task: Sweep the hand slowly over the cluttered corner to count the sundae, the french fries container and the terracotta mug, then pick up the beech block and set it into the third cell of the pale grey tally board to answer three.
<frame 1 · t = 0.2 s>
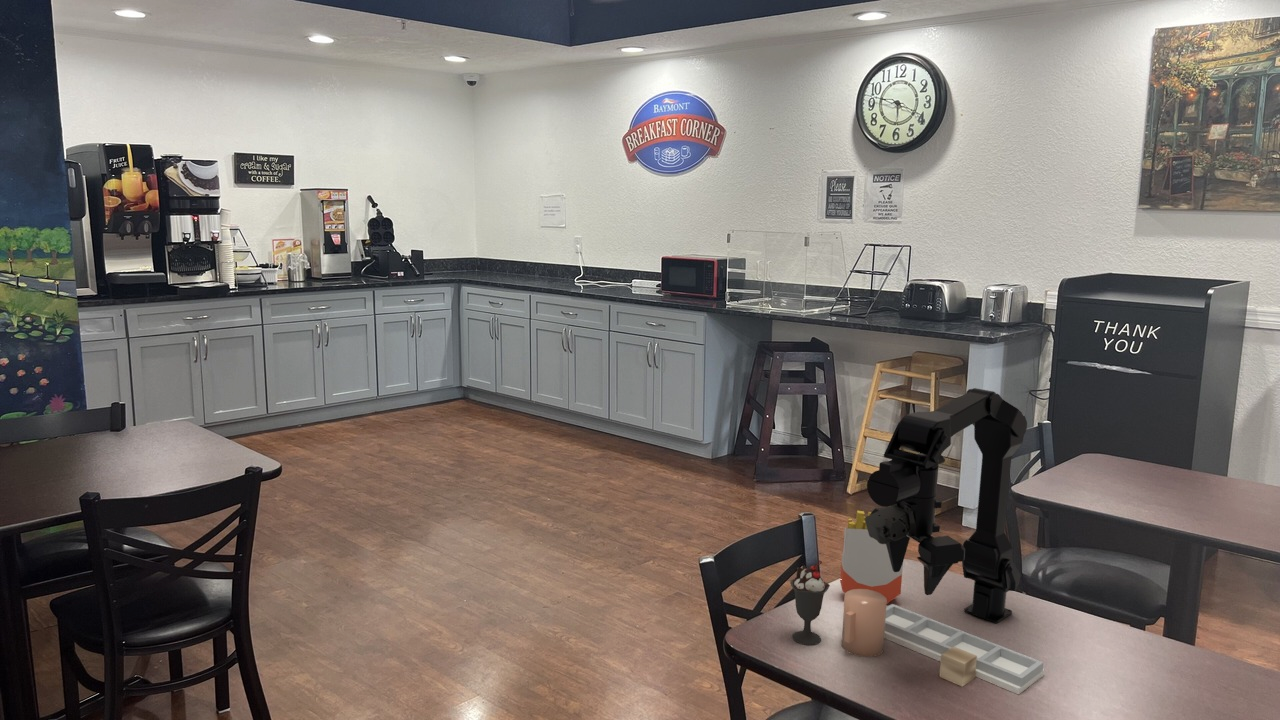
hand: (911, 582, 151), 14 cm above the table, tool pointing down, fingers open, 9 cm apart
tally board: (950, 651, 156), on the table
beech block: (957, 677, 148), on the table
french fries container: (868, 600, 176), on the table
sundae: (806, 639, 160), on the table
terracotta mug: (862, 646, 158), on the table
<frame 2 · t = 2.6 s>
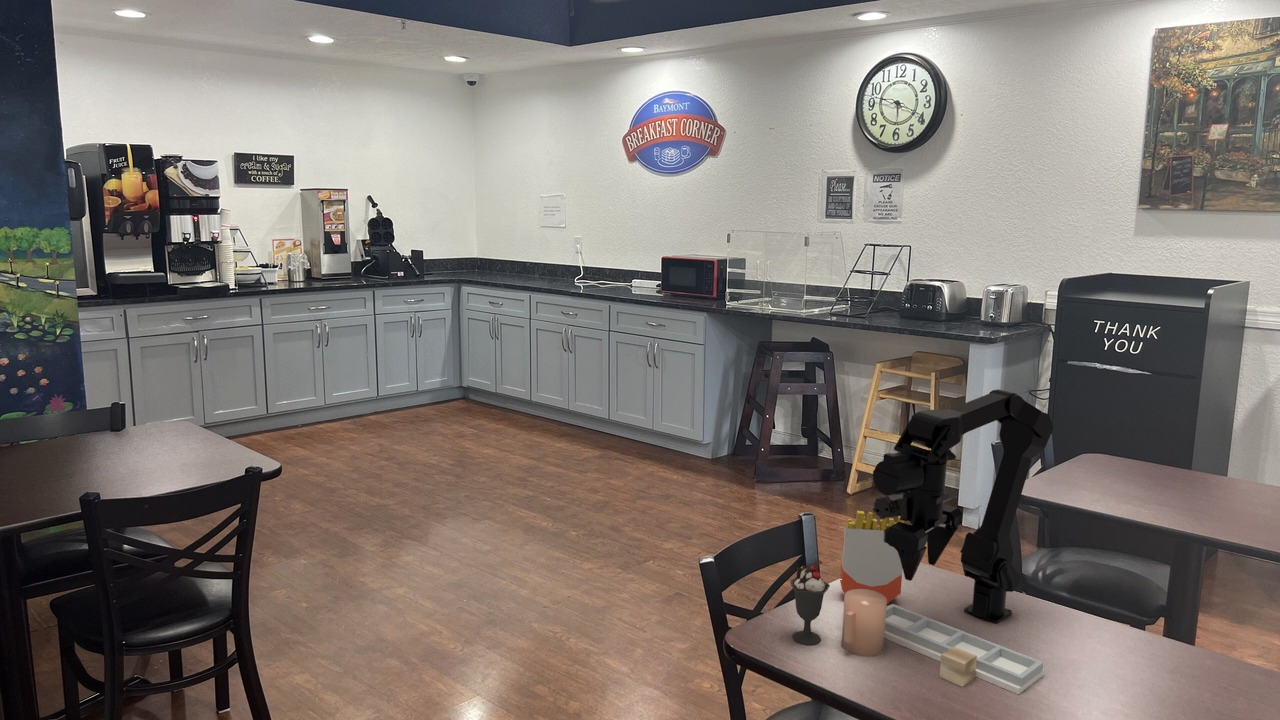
hand: (920, 572, 159), 12 cm above the table, tool pointing down, fingers open, 9 cm apart
nothing on the table moved.
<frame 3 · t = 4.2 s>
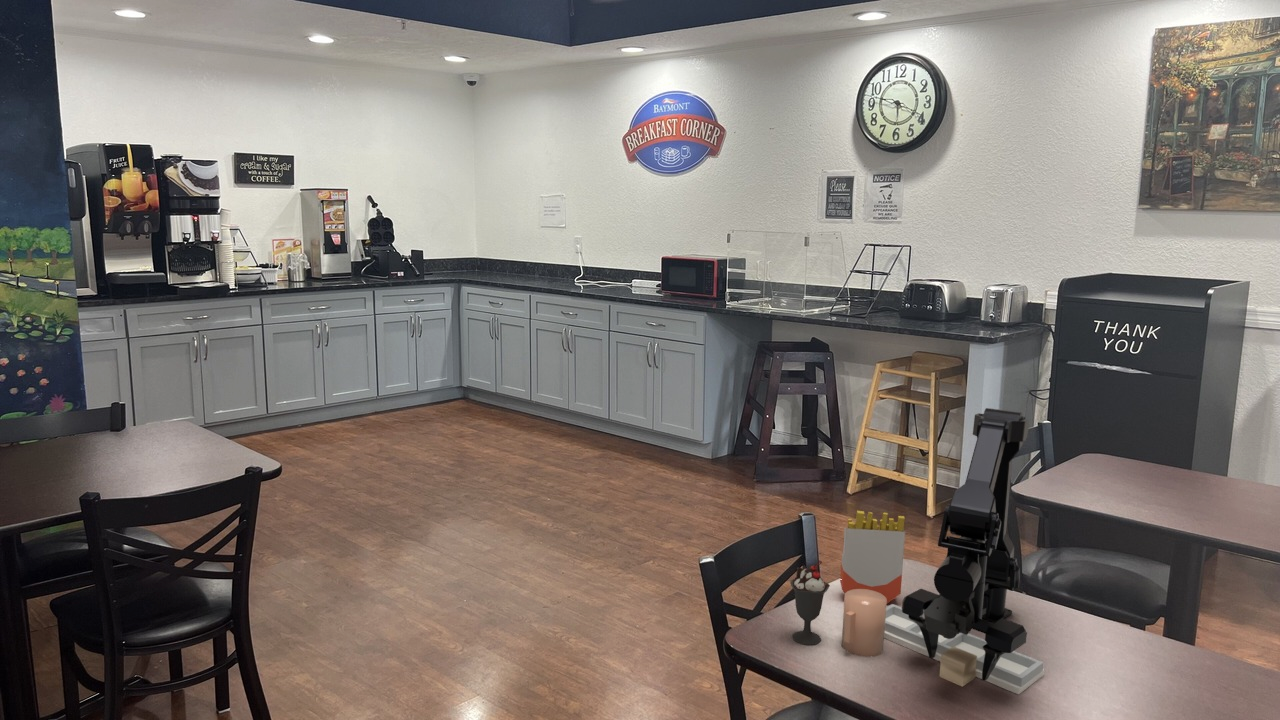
hand: (957, 668, 148), 2 cm above the table, tool pointing down, fingers open, 9 cm apart
nothing on the table moved.
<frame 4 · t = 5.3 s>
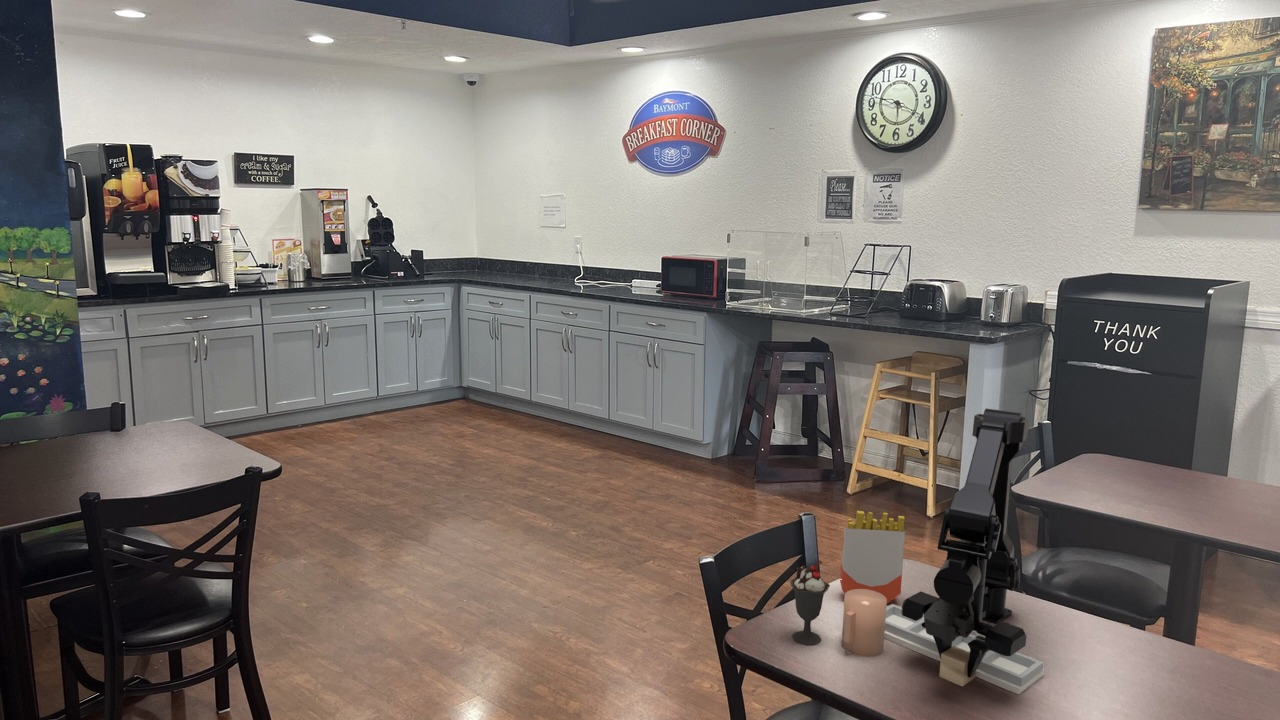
hand: (957, 671, 148), 1 cm above the table, tool pointing down, fingers closed on beech block, 4 cm apart
beech block: (957, 677, 148), on the table, touching gripper
everything else where it was.
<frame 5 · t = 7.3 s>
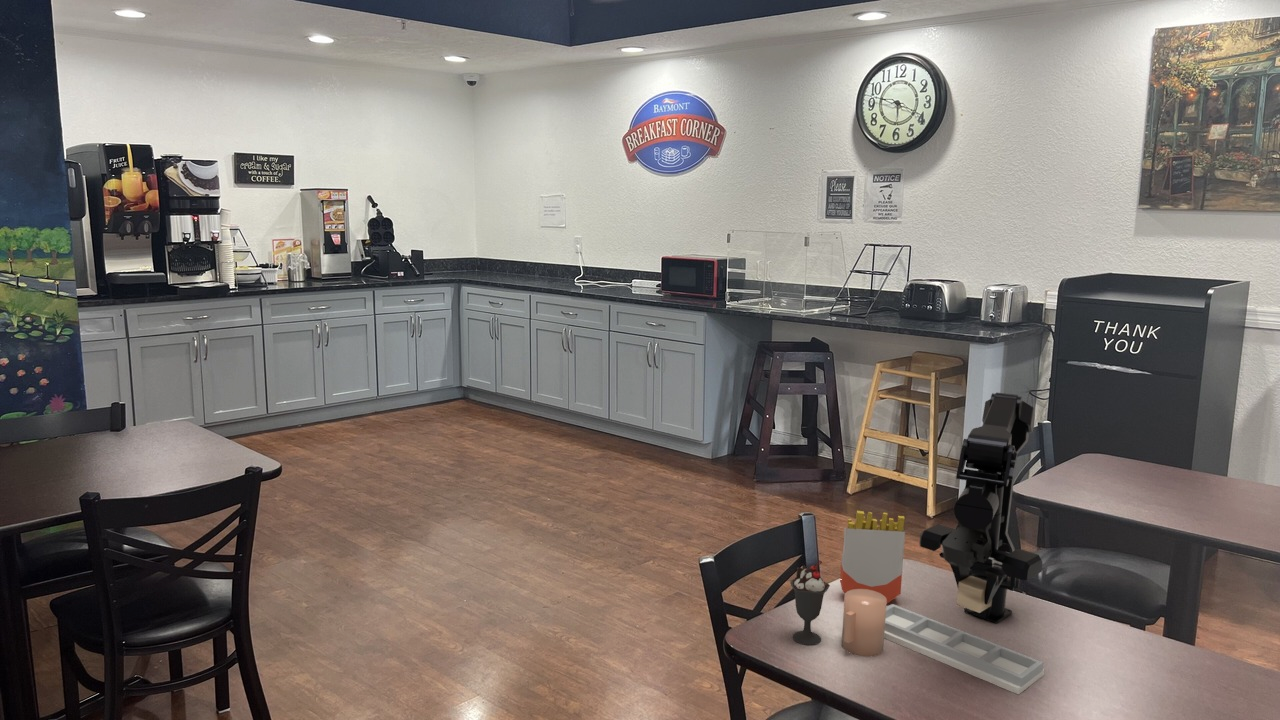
hand: (974, 599, 152), 11 cm above the table, tool pointing down, fingers closed on beech block, 4 cm apart
beech block: (974, 605, 152), point 10 cm above the table, touching gripper
everything else where it was.
when the fingers open (3 cm above the table, at t = 9.3 s): beech block drops 1 cm, resting on tally board.
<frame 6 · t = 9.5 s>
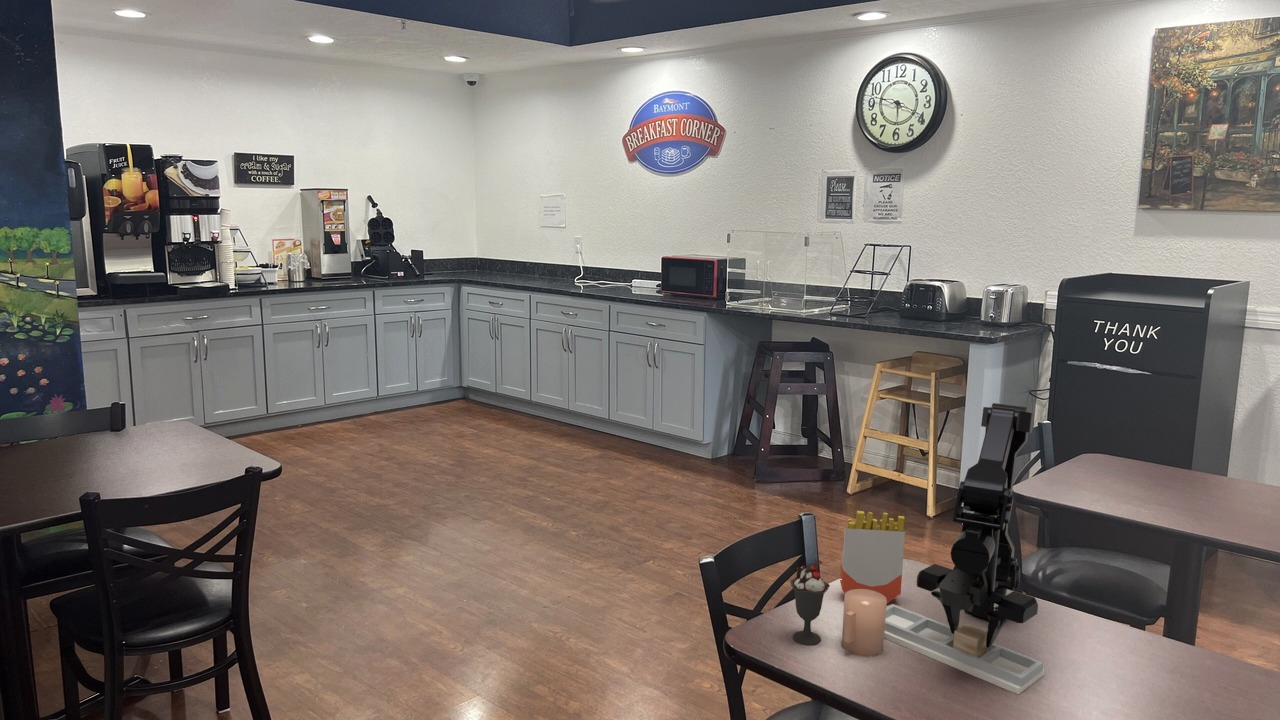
hand: (971, 639, 153), 3 cm above the table, tool pointing down, fingers open, 6 cm apart
beech block: (969, 653, 154), point 1 cm above the table, touching tally board
everything else where it was.
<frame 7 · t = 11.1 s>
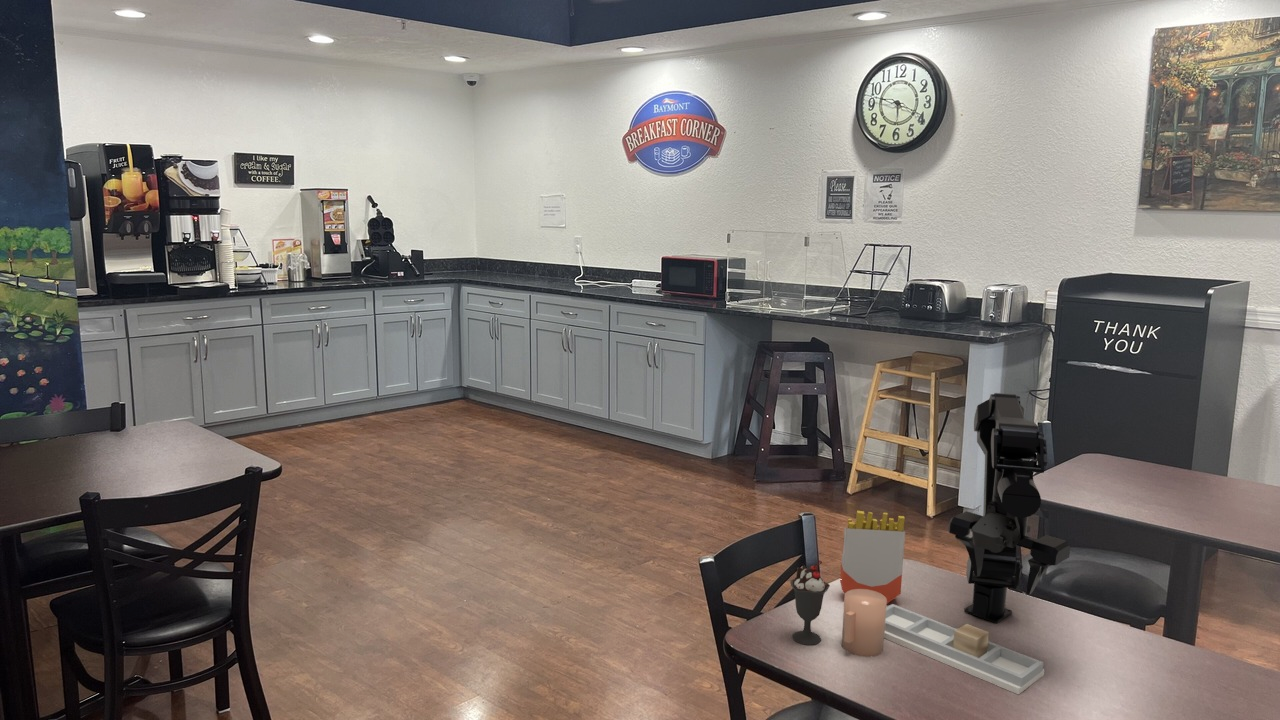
hand: (1002, 584, 155), 12 cm above the table, tool pointing down, fingers open, 9 cm apart
nothing on the table moved.
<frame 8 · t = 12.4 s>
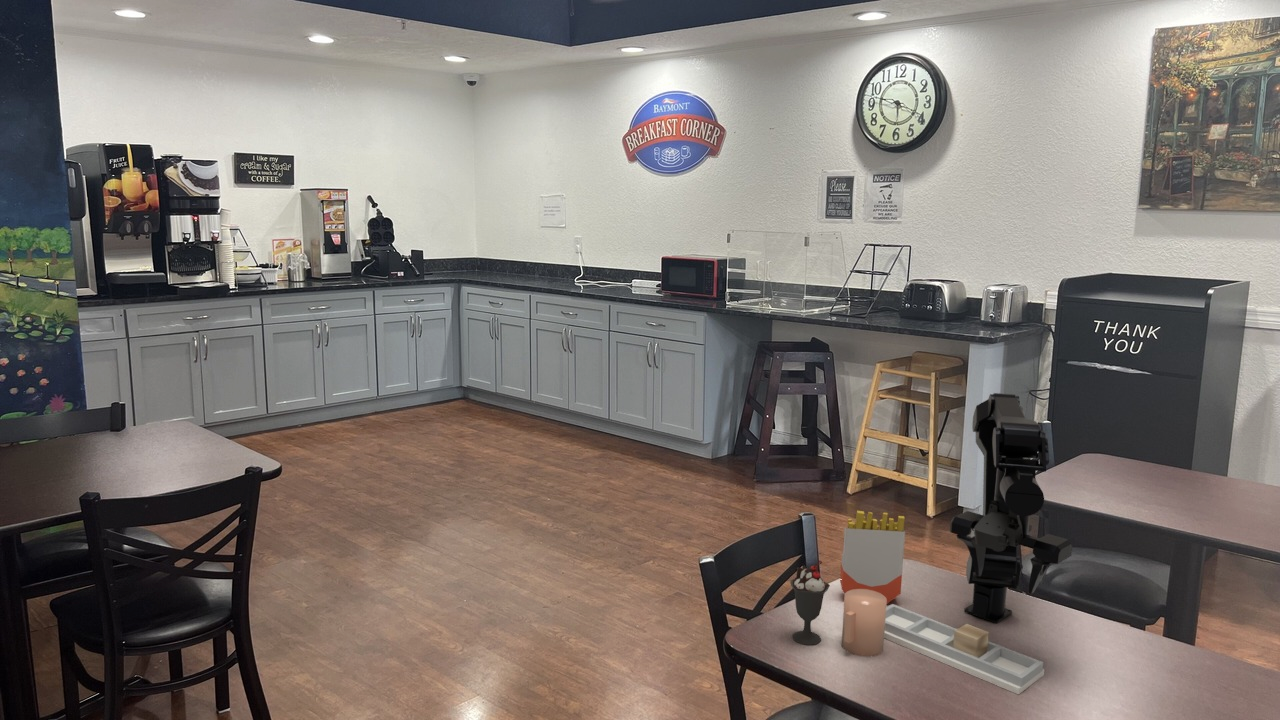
hand: (1004, 584, 155), 12 cm above the table, tool pointing down, fingers open, 9 cm apart
nothing on the table moved.
at the end: beech block 0.0 cm from the target spot on the tally board, point 1.0 cm above the tally board's base; beech block tilted 0°; the gripper is holding nothing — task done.
